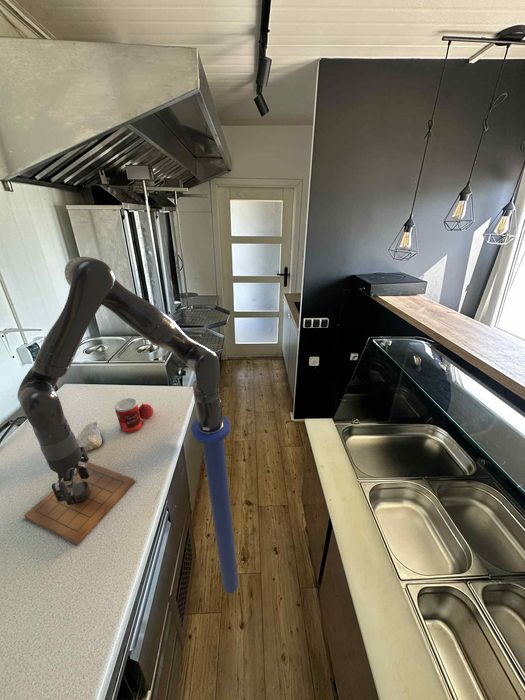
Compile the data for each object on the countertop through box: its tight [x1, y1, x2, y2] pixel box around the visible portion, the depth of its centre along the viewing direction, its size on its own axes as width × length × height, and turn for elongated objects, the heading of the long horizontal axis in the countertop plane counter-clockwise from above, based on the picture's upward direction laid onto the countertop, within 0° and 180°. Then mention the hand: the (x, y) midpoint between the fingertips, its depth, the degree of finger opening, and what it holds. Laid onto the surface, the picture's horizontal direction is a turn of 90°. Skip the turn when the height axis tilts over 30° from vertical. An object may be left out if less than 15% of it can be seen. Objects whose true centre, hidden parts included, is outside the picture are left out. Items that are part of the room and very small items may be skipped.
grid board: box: [23, 461, 135, 546], centre depth 84 cm, size 20×20×2 cm
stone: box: [76, 420, 103, 452], centre depth 104 cm, size 8×12×10 cm
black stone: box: [74, 482, 91, 504], centre depth 83 cm, size 5×5×3 cm
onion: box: [138, 402, 154, 420], centre depth 115 cm, size 6×6×8 cm
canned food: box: [114, 397, 143, 434], centre depth 110 cm, size 8×8×11 cm
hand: (79, 490), depth 83 cm, fingers open, 8 cm apart
